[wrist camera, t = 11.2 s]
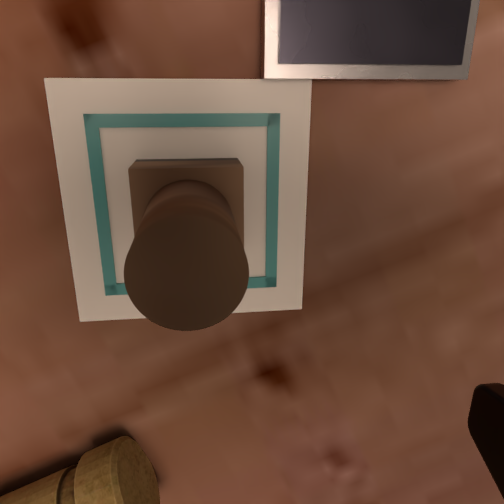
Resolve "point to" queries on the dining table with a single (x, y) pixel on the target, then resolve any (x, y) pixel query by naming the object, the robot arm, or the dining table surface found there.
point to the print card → (181, 147)
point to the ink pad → (367, 39)
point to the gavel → (96, 479)
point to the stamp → (187, 241)
